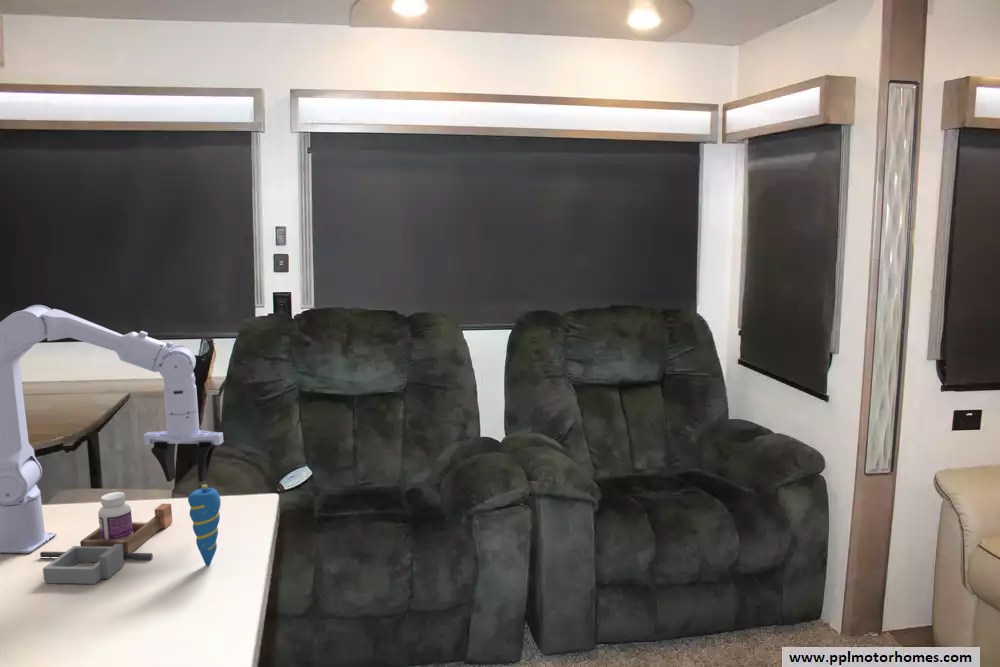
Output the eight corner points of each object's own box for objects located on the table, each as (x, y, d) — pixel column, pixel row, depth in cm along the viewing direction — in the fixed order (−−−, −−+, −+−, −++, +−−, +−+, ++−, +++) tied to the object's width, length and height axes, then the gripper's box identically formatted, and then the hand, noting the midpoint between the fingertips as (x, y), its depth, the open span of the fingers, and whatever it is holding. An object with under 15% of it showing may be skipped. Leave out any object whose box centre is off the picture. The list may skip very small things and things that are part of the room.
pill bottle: (140, 540, 145) (135, 490, 144) (123, 552, 140) (119, 501, 139) (112, 539, 146) (107, 489, 144) (95, 551, 141) (90, 500, 139)
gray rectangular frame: (44, 582, 129) (42, 561, 128) (75, 559, 137) (73, 538, 136) (102, 583, 128) (100, 561, 127) (129, 560, 137) (127, 539, 136)
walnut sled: (81, 554, 139) (79, 534, 138) (125, 521, 154) (123, 503, 153) (133, 555, 138) (131, 535, 138) (172, 522, 153) (171, 503, 152)
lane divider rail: (40, 558, 138) (40, 552, 138) (42, 556, 139) (42, 551, 139) (151, 560, 137) (150, 554, 137) (152, 558, 138) (152, 553, 137)
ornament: (186, 567, 134) (179, 484, 132) (210, 556, 138) (204, 474, 136) (207, 574, 132) (201, 488, 129) (231, 561, 136) (225, 479, 134)
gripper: (133, 416, 144) (139, 486, 146) (210, 416, 143) (215, 487, 146) (152, 406, 151) (157, 474, 153) (225, 407, 150) (230, 474, 152)
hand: (187, 480), depth 150 cm, fingers open, 6 cm apart
